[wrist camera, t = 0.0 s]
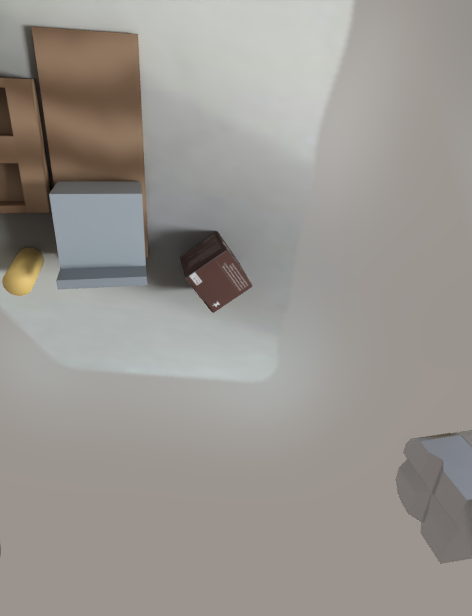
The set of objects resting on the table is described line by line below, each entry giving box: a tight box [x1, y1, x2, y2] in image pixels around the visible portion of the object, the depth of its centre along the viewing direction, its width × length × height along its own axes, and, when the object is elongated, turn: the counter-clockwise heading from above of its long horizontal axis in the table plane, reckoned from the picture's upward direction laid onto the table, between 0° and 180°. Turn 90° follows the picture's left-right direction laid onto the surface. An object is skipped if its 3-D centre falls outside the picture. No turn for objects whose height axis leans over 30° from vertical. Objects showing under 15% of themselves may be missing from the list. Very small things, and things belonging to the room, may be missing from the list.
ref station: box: [31, 27, 149, 258], centre depth 47 cm, size 24×10×6 cm, turn 177°
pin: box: [3, 248, 44, 296], centre depth 50 cm, size 3×3×7 cm
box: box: [180, 231, 252, 313], centre depth 55 cm, size 6×6×7 cm
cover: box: [49, 181, 147, 289], centre depth 48 cm, size 9×9×9 cm
